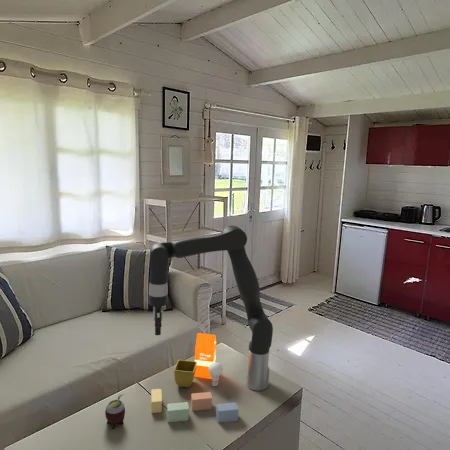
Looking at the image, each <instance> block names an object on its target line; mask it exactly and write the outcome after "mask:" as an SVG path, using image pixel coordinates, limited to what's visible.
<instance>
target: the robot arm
mask: <svg viewBox="0 0 450 450" xmlns="http://www.w3.org/2000/svg"><path fill="white" fill-rule="evenodd" d="M247 243H248V236H247V233H246V232H245V231H244V230H243V229H242V228H240V227H239V226H237V225H228V226H226V227H225V228H224V229H223V231H222V233H221V234H218V235H214V236H207V237H191V238H185V239H181V240H177V241H166V242H158V243H155V244H153V245H152V246H151V247H150V250H149V264H150V265H149V267H150V271H149V285H148V304H149V306H151V307H152V314H153V321H154V335H155V336H161V333H162V331H161V330H162V326H163V325H162V321H163V313H164V307H165V306H166V305H168V293H169V292H168V290H169V289H168V288H169V287H168V286H169V285H168V264H169V263H168V262H169V258H177V259H183V258H186V257H191V256H196V255H203V254H207V253H213V252H221V251H222V252H223V251H227V253H228V256H229V258H230V264H231V266H232V272H233V276H234V280H235V284H236V287H237V289H238V293H239V296H240V298H241V300H242V304H243V306H244V307H245V313H246V317H247V324H248V328H249V329H250V332H252V334H251V340H250V341H249V343H248V353H247V355H248V356H247V368H246V370H247V371H246V386H247V387H248V388H249V389H250V390H253V391H258V392H259V391H260V392H261V391H264V390H265V389H267V388H269V380H270V367H269V361H270V360H269V359H270V358H269V357H270V348H271V346H272V341H273V331H274V328H273V323H272V322H271V320H270V319H269V317H267V315H266V313H265V311H264V308H263V305H262V302H261V289H260V284H259V281H258V277H257V274H256V271H255V269H254V267H253V265H252V263H251V261H250V259H249V256H248V255H247V251H246V248H245V246H246V244H247Z"/></svg>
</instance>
